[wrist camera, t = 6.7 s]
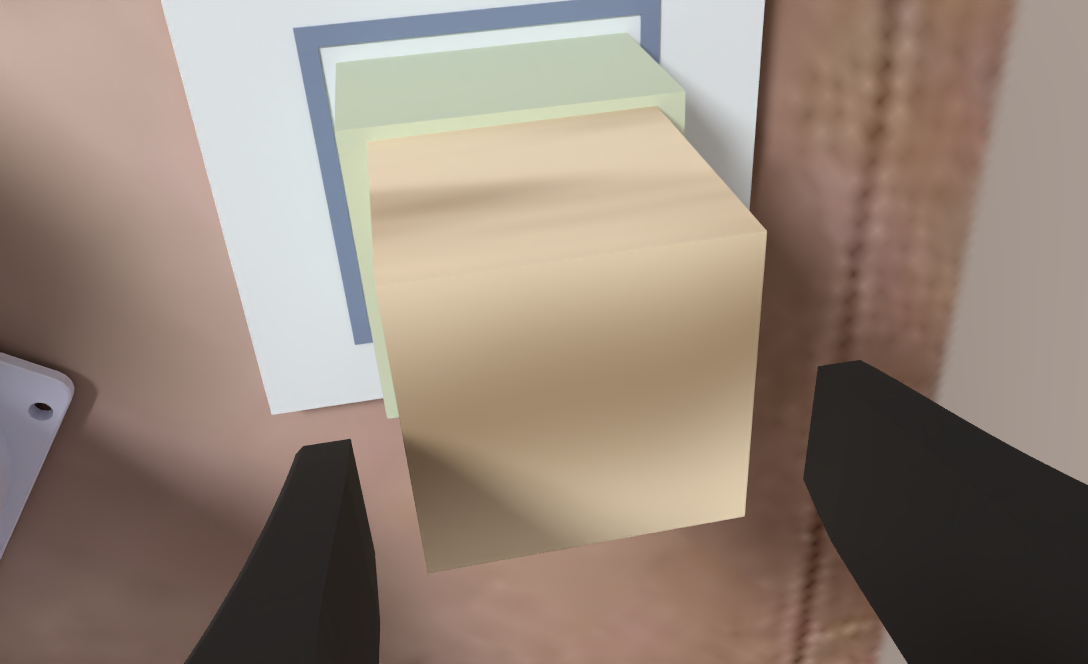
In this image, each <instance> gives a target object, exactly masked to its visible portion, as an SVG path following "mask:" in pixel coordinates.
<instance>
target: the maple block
mask: <svg viewBox="0 0 1088 664" xmlns="http://www.w3.org/2000/svg"><path fill="white" fill-rule="evenodd" d="M366 143H367V160H368V176H369V193H370V210H371V227H372V244H373V260H374V277H375V289H376V294H377V300H378V305H379V311H380V316H381V322H382V327H383V332H384V338H385V343H386V349H387V354H388V360H389V365H390V371H391V376H392V381H393V387H394V392H395V398H396V403H397V409H398V414H399V419H400V425H401V430H402V436H403V441H404V447H405V452H406V457H407V463H408V468H409V474H410V479H411V485H412V490H413V496H414V501H415V506H416V512H417V517H418V523H419V528H420V534H421V539H422V544H423V550H424V555H425V561H426V566H427V572H428V573H433V572H438V571H444V570H449V569H455V568H460V567H466V566H472V565H477V564H483V563H488V562H494V561H499V560H505V559H510V558H516V557H522V556H527V555H533V554H538V553H544V552H549V551H555V550H560V549H566V548H572V547H577V546H583V545H588V544H594V543H599V542H605V541H610V540H616V539H622V538H627V537H633V536H638V535H644V534H649V533H655V532H661V531H666V530H672V529H677V528H683V527H688V526H694V525H699V524H705V523H711V522H716V521H722V520H727V519H733V518H738V517H744V516H745V505H746V492H747V480H748V467H749V454H750V442H751V429H752V416H753V403H754V391H755V378H756V365H757V352H758V340H759V327H760V314H761V301H762V289H763V276H764V263H765V251H766V238H767V230H766V229H765V228H764V227H763V226H762V225H761V224H760V222H759V221H758V220H757V219H756V218H755V217H754V216H753V215H752V213H751V212H750V211H749V210H748V209H747V208H746V207H745V205H744V204H743V203H742V202H741V201H740V200H739V199H738V198H737V196H736V195H735V194H734V193H733V192H732V191H731V190H730V188H729V187H728V186H727V185H726V184H725V183H724V182H723V180H722V179H721V178H720V177H719V176H718V175H717V174H716V173H715V171H714V170H713V169H712V168H711V167H710V166H709V165H708V163H707V162H706V161H705V160H704V159H703V158H702V157H701V155H700V154H699V153H698V152H697V151H696V150H695V149H694V148H693V146H692V145H691V144H690V143H689V142H688V141H687V140H686V138H685V137H684V136H683V135H682V134H681V133H680V132H679V130H678V129H677V128H676V127H675V126H674V125H673V124H672V123H671V121H670V120H669V119H668V118H667V117H666V116H665V115H664V113H663V112H662V111H661V110H660V109H659V108H658V107H657V106H651V107H643V108H635V109H627V110H618V111H610V112H602V113H594V114H586V115H578V116H570V117H561V118H553V119H545V120H537V121H529V122H521V123H512V124H504V125H496V126H488V127H480V128H472V129H464V130H455V131H447V132H439V133H431V134H423V135H415V136H406V137H398V138H390V139H382V140H374V141H366Z"/></svg>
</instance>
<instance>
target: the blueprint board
mask: <svg viewBox="0 0 1088 664" xmlns="http://www.w3.org/2000/svg"><path fill="white" fill-rule="evenodd" d="M161 3H162V7H163V11H164V14H165V18H166V22H167V26H168V29H169V33H170V37H171V40H172V44H173V48H174V52H175V55H176V59H177V63H178V67H179V70H180V74H181V78H182V81H183V85H184V89H185V93H186V96H187V100H188V104H189V108H190V111H191V115H192V119H193V123H194V126H195V130H196V134H197V137H198V141H199V145H200V149H201V152H202V156H203V160H204V164H205V167H206V171H207V175H208V179H209V182H210V186H211V190H212V193H213V197H214V201H215V205H216V208H217V212H218V216H219V220H220V223H221V227H222V231H223V234H224V238H225V242H226V246H227V249H228V253H229V257H230V261H231V264H232V268H233V272H234V276H235V279H236V283H237V287H238V290H239V294H240V298H241V302H242V305H243V309H244V313H245V317H246V320H247V324H248V328H249V332H250V335H251V339H252V343H253V346H254V350H255V354H256V358H257V361H258V365H259V369H260V373H261V376H262V380H263V384H264V387H265V391H266V395H267V399H268V402H269V406H270V410H271V414H272V415H274V414H281V413H287V412H294V411H301V410H307V409H314V408H321V407H327V406H334V405H341V404H347V403H354V402H361V401H367V400H374V399H381V398H383V394H382V388H381V383H380V377H379V372H378V366H377V361H376V355H375V350H374V345H373V339H372V334H371V328H370V323H369V317H368V312H367V306H366V301H365V295H364V290H363V284H362V279H361V274H360V268H359V263H358V257H357V252H356V246H355V241H354V235H353V230H352V224H351V219H350V214H349V208H348V203H347V197H346V192H345V186H344V181H343V175H342V170H341V164H340V159H339V153H338V148H337V143H336V137H335V132H334V127H335V83H336V63H337V62H347V61H357V60H366V59H376V58H385V57H395V56H404V55H414V54H424V53H433V52H443V51H452V50H462V49H471V48H481V47H491V46H500V45H510V44H519V43H529V42H538V41H548V40H558V39H567V38H577V37H586V36H596V35H605V34H615V33H625V32H627V33H628V34H629V35H630V36H631V37H632V38H633V39H634V40H635V41H636V42H637V43H638V44H639V45H640V46H641V47H642V48H643V49H644V50H645V51H646V52H647V53H648V54H649V55H650V56H651V57H652V58H653V59H654V60H655V61H656V62H657V63H658V64H659V65H660V66H661V67H662V68H663V69H664V70H665V71H666V72H667V73H668V74H669V75H670V76H671V77H672V78H673V79H674V80H675V81H676V82H677V83H678V84H679V85H680V86H681V87H682V88H683V89H684V90H685V91H686V97H685V130H684V137H685V138H686V140H687V141H688V142H689V143H690V144H691V145H692V146H693V148H694V149H695V150H696V151H697V152H698V153H699V154H700V155H701V157H702V158H703V159H704V160H705V161H706V162H707V163H708V165H709V166H710V167H711V168H712V169H713V170H714V171H715V173H716V174H717V175H718V176H719V177H720V178H721V179H722V180H723V182H724V183H725V184H726V185H727V186H728V187H729V188H730V190H731V191H732V192H733V193H734V194H735V195H736V196H737V198H738V199H739V200H740V201H741V202H742V203H743V204H744V205H745V207H746V208H747V209H748V210H749V209H750V195H751V181H752V168H753V154H754V141H755V127H756V114H757V100H758V87H759V73H760V60H761V46H762V33H763V19H764V6H765V0H161Z"/></svg>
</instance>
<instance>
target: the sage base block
mask: <svg viewBox="0 0 1088 664" xmlns="http://www.w3.org/2000/svg"><path fill="white" fill-rule="evenodd" d="M685 97H686V91H685V90H684V89H683V88H682V87H681V86H680V85H679V84H678V83H677V82H676V81H675V80H674V79H673V78H672V77H671V76H670V75H669V74H668V73H667V72H666V71H665V70H664V69H663V68H662V67H661V66H660V65H659V64H658V63H657V62H656V61H655V60H654V59H653V58H652V57H651V56H650V55H649V54H648V53H647V52H646V51H645V50H644V49H643V48H642V47H641V46H640V45H639V44H638V43H637V42H636V41H635V40H634V39H633V38H632V37H631V36H630V35H629V34H628V33H627V32H625V33H615V34H605V35H596V36H586V37H577V38H567V39H558V40H548V41H538V42H529V43H519V44H510V45H500V46H491V47H481V48H471V49H462V50H452V51H443V52H433V53H424V54H414V55H404V56H395V57H385V58H376V59H366V60H357V61H347V62H337V63H336V83H335V127H334V132H335V137H336V143H337V148H338V153H339V159H340V164H341V170H342V175H343V181H344V186H345V192H346V197H347V203H348V208H349V214H350V219H351V224H352V230H353V235H354V241H355V246H356V252H357V257H358V263H359V268H360V274H361V279H362V284H363V290H364V295H365V301H366V306H367V312H368V317H369V323H370V328H371V334H372V339H373V345H374V350H375V355H376V361H377V366H378V372H379V377H380V383H381V388H382V394H383V399H384V405H385V410H386V415H387V419H390V418H396V417H399V414H398V409H397V403H396V398H395V392H394V387H393V381H392V376H391V371H390V365H389V360H388V354H387V349H386V343H385V338H384V332H383V327H382V322H381V316H380V311H379V305H378V300H377V294H376V289H375V277H374V260H373V244H372V227H371V210H370V193H369V176H368V160H367V143H366V141H374V140H382V139H390V138H398V137H406V136H415V135H423V134H431V133H439V132H447V131H455V130H464V129H472V128H480V127H488V126H496V125H504V124H512V123H521V122H529V121H537V120H545V119H553V118H561V117H570V116H578V115H586V114H594V113H602V112H610V111H618V110H627V109H635V108H643V107H651V106H657V107H658V108H659V109H660V110H661V111H662V112H663V113H664V115H665V116H666V117H667V118H668V119H669V120H670V121H671V123H672V124H673V125H674V126H675V127H676V128H677V129H678V130H679V132H680V133H681V134H682V135H683V136H684V130H685Z"/></svg>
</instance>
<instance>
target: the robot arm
mask: <svg viewBox="0 0 1088 664" xmlns="http://www.w3.org/2000/svg"><path fill="white" fill-rule="evenodd" d="M74 389H75V387H74V385H73V382H72V381H71V380H70V379H69V377H68V376H67V375H65V374H63V373H61V372H59V371H56V370H53V369H50V368H47V367H44V366H41V365H38V364H35V363H32V362H29V361H26V360H23V359H20V358H17V357H14V356H11V355H8V354H5V353H2V352H0V559H1V557H2V555H3V553H4V550H5V548H6V546H7V544H8V541H9V539H10V537H11V535H12V532H13V530H14V528H15V526H16V523H17V521H18V519H19V517H20V514H21V512H22V510H23V508H24V505H25V503H26V501H27V499H28V496H29V494H30V492H31V490H32V487H33V485H34V483H35V481H36V478H37V476H38V474H39V472H40V469H41V467H42V465H43V463H44V461H45V458H46V456H47V454H48V452H49V449H50V447H51V445H52V443H53V440H54V438H55V436H56V434H57V431H58V429H59V427H60V425H61V422H62V420H63V418H64V416H65V413H66V411H67V409H68V407H69V404H70V402H71V400H72V397H73V395H74ZM34 403H45V404H47V405H49V406H50V407H51V408H52V410H49V411H45V410H41V409H39V408H37V407H36V406H35V405H34ZM803 479H804V482H805V484H806V486H807V489H808V491H809V493H810V496H811V498H812V500H813V503H814V505H815V507H816V509H817V512H818V514H819V516H820V518H821V520H822V523H823V525H824V527H825V529H826V531H827V533H828V535H829V537H830V539H831V542H832V543H833V545H834V547H835V548H836V550H837V552H838V553H839V555H840V557H841V558H842V560H843V561H844V563H845V565H846V566H847V568H848V569H849V571H850V573H851V574H852V576H853V578H854V579H855V581H856V582H857V584H858V586H859V587H860V589H861V590H862V592H863V594H864V595H865V597H866V598H867V600H868V601H869V603H870V605H871V606H872V608H873V609H874V611H875V612H876V614H877V616H878V617H879V619H880V620H881V622H882V624H883V625H884V627H885V628H886V630H887V631H888V633H889V635H890V636H891V638H892V639H893V641H894V642H895V644H896V646H897V647H898V649H899V650H900V652H901V654H902V655H903V657H904V658H905V660H906V661H907V663H908V664H1088V485H1086V484H1084V483H1082V482H1080V481H1078V480H1076V479H1074V478H1072V477H1070V476H1068V475H1066V474H1064V473H1062V472H1060V471H1058V470H1056V469H1054V468H1052V467H1050V466H1048V465H1046V464H1044V463H1042V462H1040V461H1039V460H1036V459H1035V458H1033V457H1031V456H1029V455H1027V454H1025V453H1023V452H1021V451H1019V450H1018V449H1016V448H1014V447H1012V446H1010V445H1008V444H1006V443H1005V442H1003V441H1001V440H999V439H997V438H996V437H994V436H992V435H990V434H988V433H987V432H985V431H983V430H981V429H980V428H978V427H976V426H974V425H973V424H971V423H969V422H967V421H966V420H964V419H962V418H960V417H959V416H957V415H955V414H954V413H952V412H950V411H948V410H947V409H945V408H943V407H942V406H940V405H938V404H937V403H935V402H933V401H931V400H930V399H928V398H926V397H925V396H923V395H921V394H920V393H918V392H916V391H914V390H913V389H911V388H909V387H908V386H906V385H904V384H903V383H901V382H899V381H897V380H896V379H894V378H892V377H890V376H889V375H887V374H885V373H883V372H882V371H880V370H878V369H876V368H874V367H872V366H871V365H869V364H867V363H865V362H863V361H861V360H857V361H850V362H844V363H837V364H831V365H824V366H818V371H817V379H816V386H815V394H814V402H813V409H812V417H811V424H810V432H809V440H808V447H807V455H806V463H805V470H804V478H803ZM379 643H380V614H379V600H378V587H377V574H376V562H375V551H374V546H373V542H372V537H371V532H370V528H369V523H368V518H367V514H366V509H365V504H364V499H363V495H362V490H361V485H360V481H359V476H358V471H357V467H356V462H355V457H354V453H353V448H352V443H351V439H347V440H340V441H334V442H327V443H321V444H314V445H308V446H303V447H302V448H301V449H300V450H299V451H298V453H297V454H296V455H295V458H294V461H293V463H292V466H291V469H290V471H289V474H288V476H287V479H286V481H285V483H284V486H283V488H282V490H281V493H280V495H279V497H278V499H277V502H276V504H275V506H274V508H273V510H272V512H271V514H270V516H269V519H268V521H267V523H266V525H265V527H264V529H263V531H262V533H261V535H260V537H259V538H258V540H257V542H256V544H255V546H254V548H253V550H252V552H251V554H250V556H249V558H248V560H247V562H246V563H245V565H244V567H243V569H242V571H241V573H240V575H239V576H238V578H237V580H236V582H235V583H234V585H233V587H232V588H231V590H230V592H229V593H228V595H227V597H226V598H225V600H224V602H223V603H222V605H221V607H220V608H219V610H218V612H217V613H216V615H215V617H214V618H213V620H212V622H211V623H210V625H209V627H208V628H207V630H206V631H205V633H204V634H203V636H202V637H201V639H200V640H199V642H198V643H197V645H196V647H195V648H194V650H193V651H192V653H191V654H190V655H189V657H188V658H187V660H186V661H185V663H184V664H379Z"/></svg>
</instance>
